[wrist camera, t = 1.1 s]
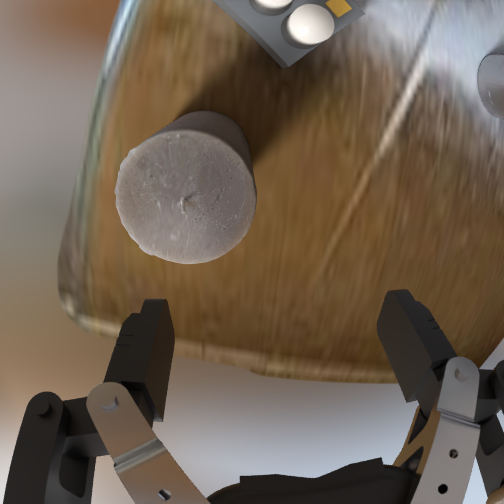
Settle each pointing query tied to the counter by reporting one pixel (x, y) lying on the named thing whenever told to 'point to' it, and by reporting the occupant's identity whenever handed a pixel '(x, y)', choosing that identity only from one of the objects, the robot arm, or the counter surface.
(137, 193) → the pillar candle
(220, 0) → the console
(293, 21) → the button
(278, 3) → the button mid
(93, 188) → the counter surface
